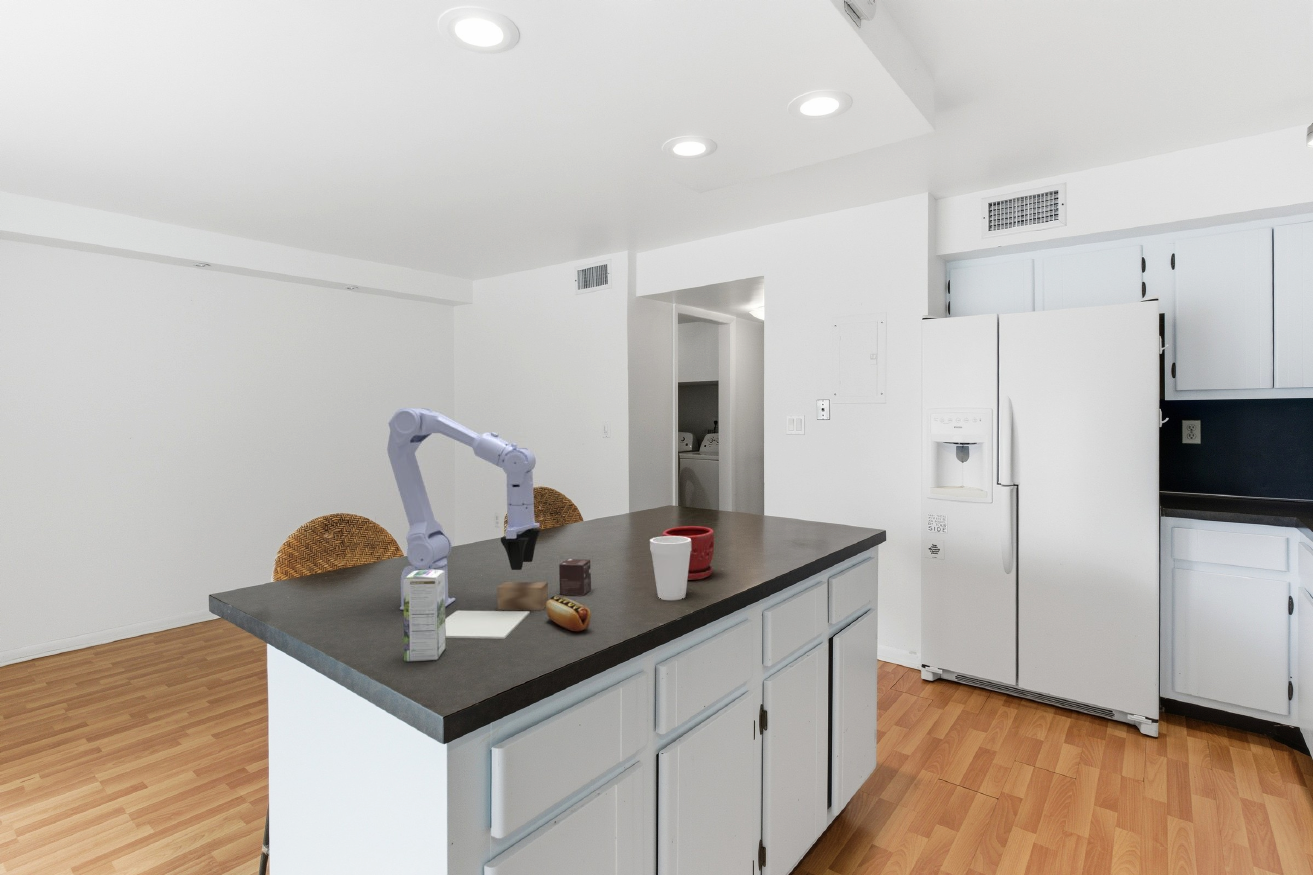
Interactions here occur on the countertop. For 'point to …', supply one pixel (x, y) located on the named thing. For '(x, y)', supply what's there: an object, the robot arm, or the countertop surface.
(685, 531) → the plant pot
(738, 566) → the countertop surface
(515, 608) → the wooden block
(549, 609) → the hot dog
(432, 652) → the syrup box
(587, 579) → the box
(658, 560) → the foam cup
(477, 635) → the mat
